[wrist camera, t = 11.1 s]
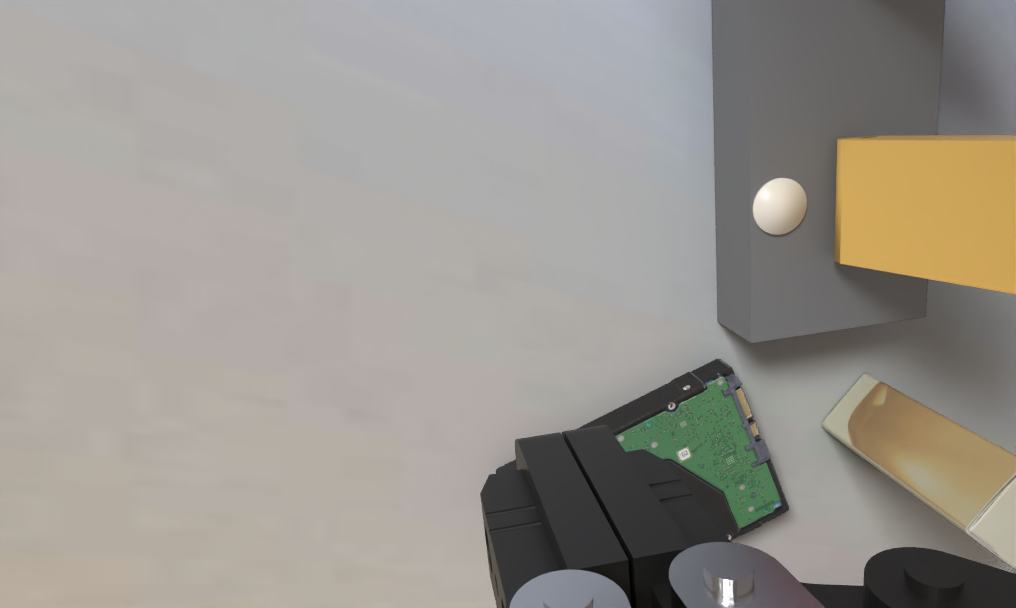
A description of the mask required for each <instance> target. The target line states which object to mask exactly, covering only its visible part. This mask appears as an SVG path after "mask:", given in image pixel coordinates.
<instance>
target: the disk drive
mask: <svg viewBox="0 0 1016 608" xmlns="http://www.w3.org/2000/svg"><path fill="white" fill-rule="evenodd" d="M741 385H742V383H741V382H740V381H739V379H738V377H736V376H735V374H734V371H733V369H732V367H730V366H729V365H728V364H726V363H725V362H723V361H722V360H721V359H716V360H714V361H712V362H710V363H708V364H706V365H704V366H702V367H700V368H698V369H696V370H693V371H692V372H688V373H686V374H684V375H682V376H680V377H678V378H676V379H674V380H672V381H671V382H670V383H668V384H665V385H664V386H662V387H659V388H658V389H656V390H654V391H652V392H650V393H648V394H646V395H644V396H641V397H640V398H638V399H636V400H634V401H632V402H630V403H628V404H626V405H624V406H622V407H620V408H618V409H615V410H614V411H612V412H610V413H608V414H606V415H604V416H602V417H599V418H598V419H595V420H594V421H591V422H590V423H588V424H586V425H584V426H582V427H580V428H578V429H583V428H589V427H595V426H601V425H607V426H608V427H609V429H610V430H611V432H612V433H613V434H614V436H615V437H616V439H617V440H618V442H619V443H620V445H621V446H622V447H623V449H624V450H625V452H628V451H634V450H640V449H644V450H646V451H648V452H650V453H652V454H654V455H656V456H658V457H660V458H661V459H663V460H665V461H667V462H668V463H669V464H670V466H671V467H672V468H673V469H674V471H675V472H676V473H677V474H678V476H679V477H680V478H681V481H682V483H685V484H686V486H687V487H688V488H689V489H690V491H691V492H692V493H693V497H694V498H695V497H696V498H697V500H698V501H699V502H700V503H701V505H702V506H703V507H704V508H705V510H706V511H707V512H708V513H709V515H710V516H711V517H712V518H713V520H714V521H715V522H716V523H717V525H718V526H719V527H720V528H721V530H722V531H723V532H724V533H725V535H726V536H727V537H728V539H729V540H732V539H734V538H736V537H738V536H741V535H743V534H745V533H747V532H749V531H751V530H754V529H755V528H758V527H759V526H761V525H762V524H763V523H765V522H766V521H769V520H771V519H774V518H776V517H778V516H779V515H781V514H782V513H785V512H786V511H788V510H789V506H788V503H787V501H786V498H785V495H784V493H783V490H782V487H781V485H780V482H779V480H778V477H777V474H776V472H775V469H774V466H773V464H772V461H771V460H770V454H769V451H768V449H767V446H766V444H765V441H764V440H762V439H761V437H760V436H759V434H760V433H759V430H758V427H757V425H756V422H755V421H754V420H753V417H754V416H753V414H752V412H751V410H750V407H749V404H748V402H747V400H746V397H745V394H744V391H743V389H742V388H741V387H740V386H741ZM576 430H577V429H576ZM515 470H517V463H516V459H515V460H514V461H512V462H509V463H507V464H505V465H504V466H502V467H499V468H498V469H497V470H496V474H497V473H503V472H509V471H515Z"/></svg>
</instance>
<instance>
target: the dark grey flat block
mask: <svg viewBox="0 0 1016 608" xmlns="http://www.w3.org/2000/svg"><path fill="white" fill-rule="evenodd" d="M944 13H945V0H712V49H713V102H714V154H715V207H716V260H717V313H718V322H719V323H720V324H722V325H723V326H725V327H726V328H728V329H730V330H731V331H733V332H734V333H736V334H737V335H739V336H741V337H742V338H744V339H745V340H747V341H748V342H750V343H755V342H762V341H769V340H775V339H782V338H788V337H795V336H802V335H808V334H815V333H822V332H828V331H835V330H842V329H848V328H855V327H862V326H868V325H875V324H881V323H888V322H895V321H901V320H908V319H915V318H921V317H926V301H927V285H928V279H926V278H920V277H914V276H908V275H903V274H897V273H891V272H886V271H880V270H874V269H868V268H863V267H857V266H851V265H845V264H840V263H838V262H836V261H834V246H835V208H836V169H837V139H839V138H845V137H856V136H915V135H937V125H938V109H939V93H940V77H941V61H942V45H943V29H944Z"/></svg>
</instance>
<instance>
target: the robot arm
mask: <svg viewBox="0 0 1016 608" xmlns="http://www.w3.org/2000/svg"><path fill="white" fill-rule="evenodd" d="M515 453H516V463H517V470H515V471H509V472H503V473H497V474H491V475H489V477H488V479H487V481H486V483H485V485H484V487H483V489H482V491H481V493H480V495H481V503H482V512H483V520H484V528H485V537H486V545H487V553H488V562H489V570H490V578H491V582H492V587H493V591H494V596H495V600H496V605H497V608H1016V574H1014V573H1011V572H1007V571H1004V570H1001V569H998V568H994V567H991V566H988V565H985V564H981V563H978V562H975V561H972V560H968V559H965V558H962V557H959V556H955V555H952V554H949V553H945V552H941V551H937V550H932V549H926V548H916V547H902V548H893V549H889V550H885V551H882V552H880V553H877V554H876V555H874V556H873V557H871V558H870V560H869V561H868V562H867V564H866V566H865V569H864V586H850V585H824V584H808V583H801V582H799V581H798V580H797V579H796V578H795V577H794V576H793V575H792V574H791V573H790V572H789V571H788V570H787V569H786V568H785V567H784V566H783V565H782V564H781V563H779V562H778V561H777V560H776V559H775V558H773V557H772V556H770V555H769V554H767V553H765V552H763V551H761V550H759V549H756V548H753V547H750V546H747V545H743V544H738V543H732V542H731V541H730V540H729V539H728V537H727V536H726V535H725V533H724V532H723V531H722V530H721V528H720V527H719V526H718V525H717V523H716V522H715V521H714V520H713V518H712V517H711V516H710V515H709V513H708V512H707V511H706V510H705V508H704V507H703V506H702V505H701V503H700V502H699V501H698V500H697V498H696V497H695V498H694V497H693V493H692V492H691V491H690V489H689V488H688V487H687V486H686V484H685V483H682V481H681V478H680V477H679V476H678V474H677V473H676V472H675V471H674V469H673V468H672V467H671V466H670V464H669V463H668V462H667V461H665V460H663V459H661V458H660V457H658V456H656V455H654V454H652V453H650V452H648V451H646V450H644V449H640V450H634V451H628V452H625V450H624V449H623V447H622V446H621V445H620V443H619V442H618V440H617V439H616V437H615V436H614V434H613V433H612V432H611V430H610V429H609V427H608V426H607V425H601V426H595V427H589V428H583V429H577V430H570V431H564V432H562V433H553V434H546V435H540V436H534V437H528V438H522V439H516V440H515Z"/></svg>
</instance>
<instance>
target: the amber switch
mask: <svg viewBox="0 0 1016 608" xmlns="http://www.w3.org/2000/svg"><path fill="white" fill-rule="evenodd" d="M834 261H836V262H838V263H840V264H845V265H851V266H857V267H863V268H868V269H874V270H880V271H886V272H891V273H897V274H903V275H908V276H914V277H920V278H926V279H931V280H937V281H943V282H949V283H954V284H960V285H966V286H972V287H977V288H983V289H989V290H995V291H1000V292H1006V293H1012V294H1016V135H915V136H856V137H845V138H839V139H837V169H836V208H835V246H834Z"/></svg>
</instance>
